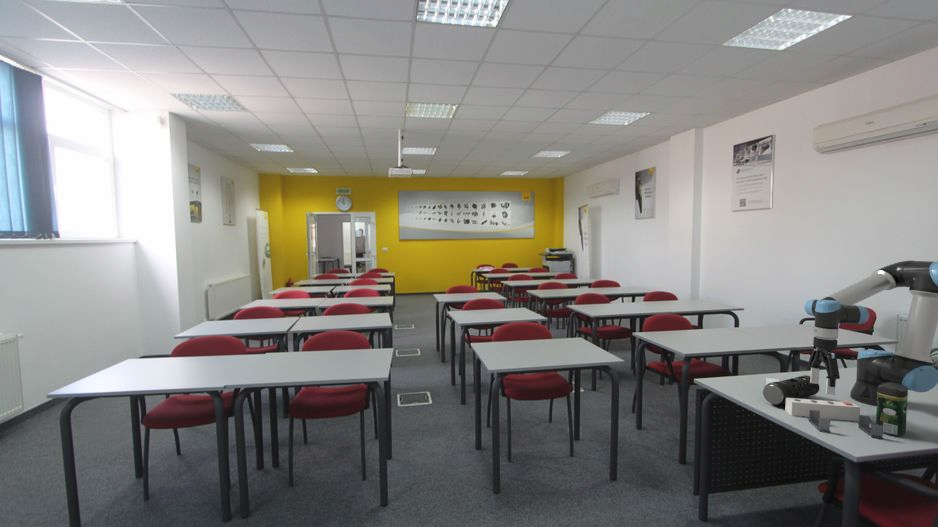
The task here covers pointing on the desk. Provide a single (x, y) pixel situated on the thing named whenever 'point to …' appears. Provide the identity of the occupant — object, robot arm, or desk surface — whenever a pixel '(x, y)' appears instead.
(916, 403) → the desk surface
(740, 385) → the desk surface
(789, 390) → the muzzle brake
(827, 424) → the bracket far
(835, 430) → the desk surface
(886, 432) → the coffee jar
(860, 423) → the bracket near
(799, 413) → the socket bar
